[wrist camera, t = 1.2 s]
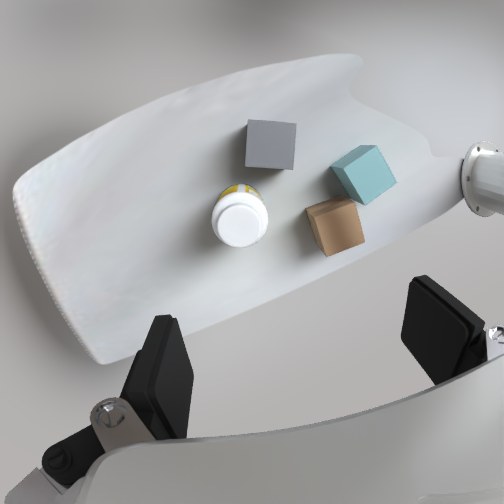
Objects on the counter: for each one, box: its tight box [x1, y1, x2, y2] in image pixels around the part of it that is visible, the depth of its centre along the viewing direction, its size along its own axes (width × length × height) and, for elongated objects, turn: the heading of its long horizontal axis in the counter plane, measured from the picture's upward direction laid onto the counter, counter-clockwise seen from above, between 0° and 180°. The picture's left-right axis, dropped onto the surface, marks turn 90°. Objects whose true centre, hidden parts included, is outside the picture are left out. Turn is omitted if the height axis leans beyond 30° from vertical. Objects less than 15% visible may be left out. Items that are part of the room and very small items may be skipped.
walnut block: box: [305, 195, 365, 257], centre depth 33 cm, size 5×5×5 cm
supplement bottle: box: [211, 184, 268, 248], centre depth 30 cm, size 6×6×10 cm
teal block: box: [331, 145, 397, 206], centre depth 31 cm, size 5×5×5 cm
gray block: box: [245, 120, 296, 170], centre depth 30 cm, size 5×5×5 cm
